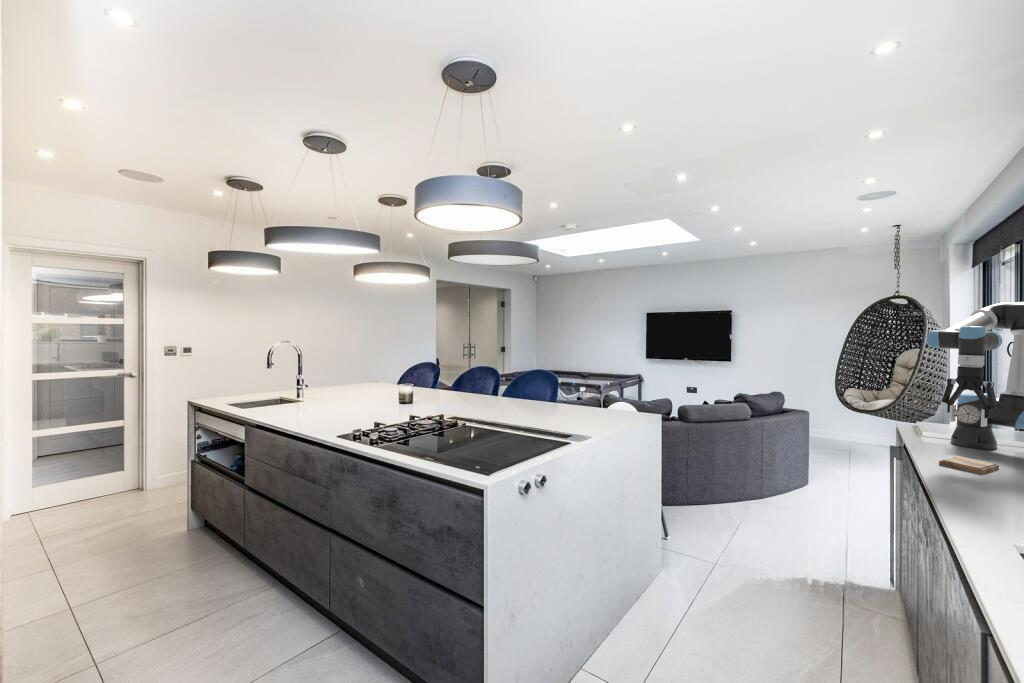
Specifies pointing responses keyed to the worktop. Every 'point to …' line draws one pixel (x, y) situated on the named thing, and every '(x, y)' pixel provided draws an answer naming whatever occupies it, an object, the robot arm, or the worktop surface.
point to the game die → (968, 414)
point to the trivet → (969, 464)
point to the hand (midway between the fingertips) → (967, 423)
